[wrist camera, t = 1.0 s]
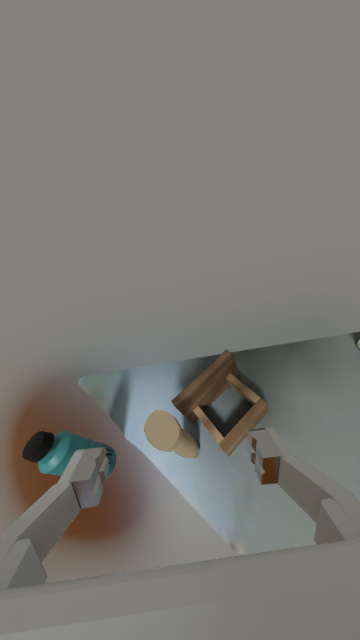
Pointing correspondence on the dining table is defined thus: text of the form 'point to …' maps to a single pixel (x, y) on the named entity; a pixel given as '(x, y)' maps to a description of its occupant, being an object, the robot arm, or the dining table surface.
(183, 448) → the handle
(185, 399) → the wooden drawer
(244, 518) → the dining table surface
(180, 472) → the dining table surface
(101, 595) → the robot arm
